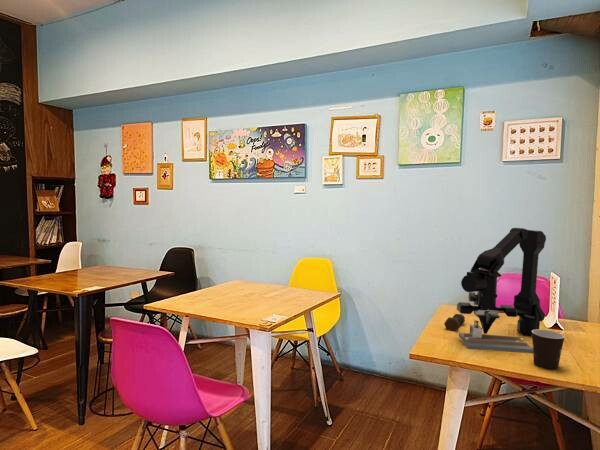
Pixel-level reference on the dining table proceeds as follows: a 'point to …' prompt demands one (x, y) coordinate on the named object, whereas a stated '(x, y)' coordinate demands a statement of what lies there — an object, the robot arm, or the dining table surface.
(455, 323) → the bolt
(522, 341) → the fixed brass pin
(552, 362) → the coffee mug
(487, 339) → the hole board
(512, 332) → the dining table surface
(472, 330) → the sliding pin block
